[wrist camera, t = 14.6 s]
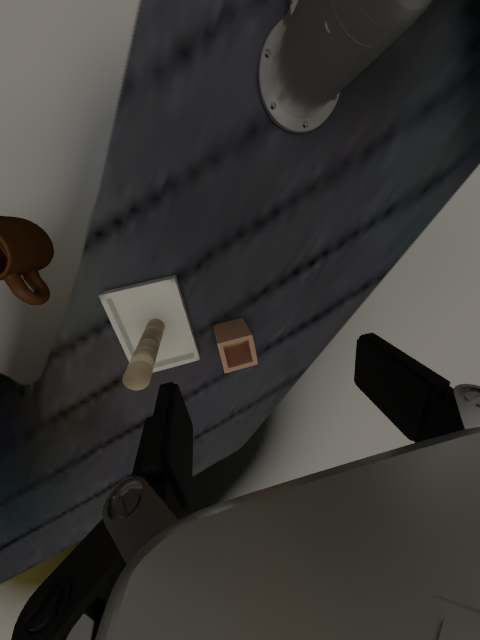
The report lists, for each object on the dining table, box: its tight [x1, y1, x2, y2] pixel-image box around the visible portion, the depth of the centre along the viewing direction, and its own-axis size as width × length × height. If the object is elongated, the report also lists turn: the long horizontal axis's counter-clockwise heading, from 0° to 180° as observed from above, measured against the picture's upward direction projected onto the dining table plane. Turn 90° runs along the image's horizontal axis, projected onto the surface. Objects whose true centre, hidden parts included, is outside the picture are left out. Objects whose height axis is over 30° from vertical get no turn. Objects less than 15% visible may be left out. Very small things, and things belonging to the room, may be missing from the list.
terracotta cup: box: [213, 318, 258, 373], centre depth 42 cm, size 6×6×8 cm
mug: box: [0, 216, 54, 305], centre depth 30 cm, size 12×8×9 cm, turn 29°
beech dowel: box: [122, 319, 165, 390], centre depth 34 cm, size 3×3×16 cm
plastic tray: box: [99, 275, 200, 373], centre depth 41 cm, size 16×12×3 cm
